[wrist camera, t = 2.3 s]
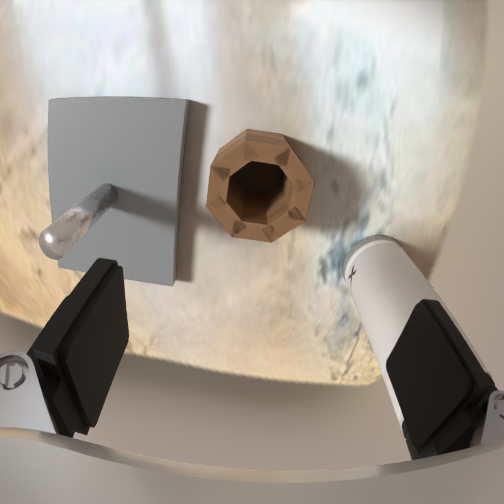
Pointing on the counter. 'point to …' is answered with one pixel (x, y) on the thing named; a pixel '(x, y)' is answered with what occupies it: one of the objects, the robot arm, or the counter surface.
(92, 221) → the metal rod
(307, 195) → the walnut bead
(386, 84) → the counter surface
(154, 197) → the rod board
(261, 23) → the counter surface
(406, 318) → the travel mug
